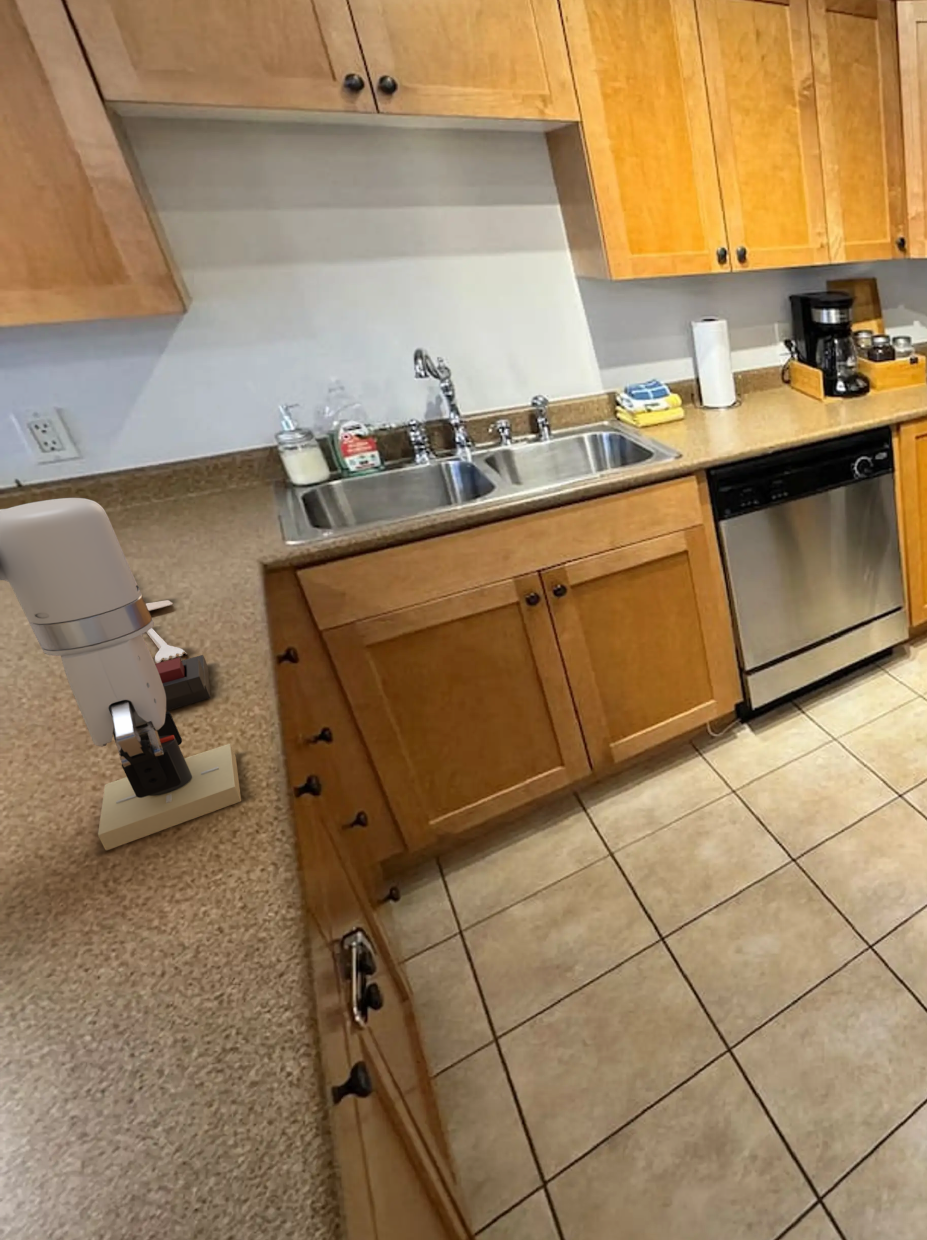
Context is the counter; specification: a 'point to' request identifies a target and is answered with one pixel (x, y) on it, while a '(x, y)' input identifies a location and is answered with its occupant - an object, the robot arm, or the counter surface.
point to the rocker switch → (189, 684)
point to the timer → (169, 799)
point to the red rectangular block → (171, 670)
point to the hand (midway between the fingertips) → (161, 768)
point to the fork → (164, 648)
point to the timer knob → (175, 761)
